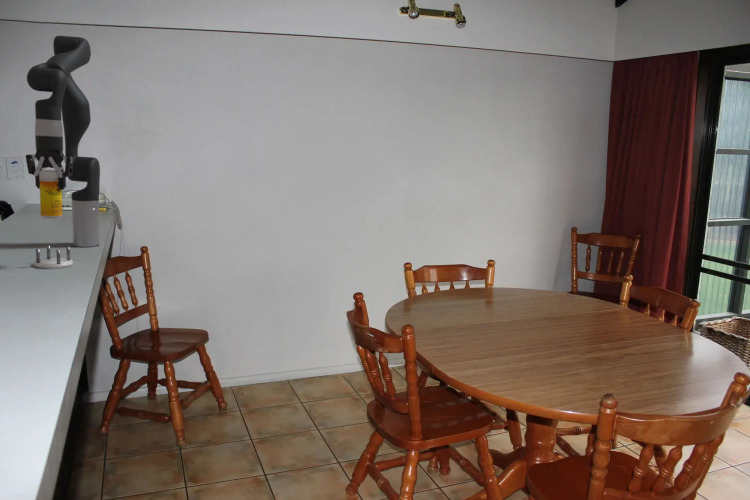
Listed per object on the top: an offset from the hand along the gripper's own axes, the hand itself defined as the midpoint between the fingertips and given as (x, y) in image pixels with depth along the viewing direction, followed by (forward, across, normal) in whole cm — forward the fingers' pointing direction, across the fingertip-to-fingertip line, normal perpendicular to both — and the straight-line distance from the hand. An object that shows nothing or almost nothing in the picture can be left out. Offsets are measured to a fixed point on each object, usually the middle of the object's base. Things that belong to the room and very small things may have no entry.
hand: (50, 188), depth 187 cm
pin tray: (+24, 0, 0) cm, 24 cm away
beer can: (+9, 0, 0) cm, 9 cm away
